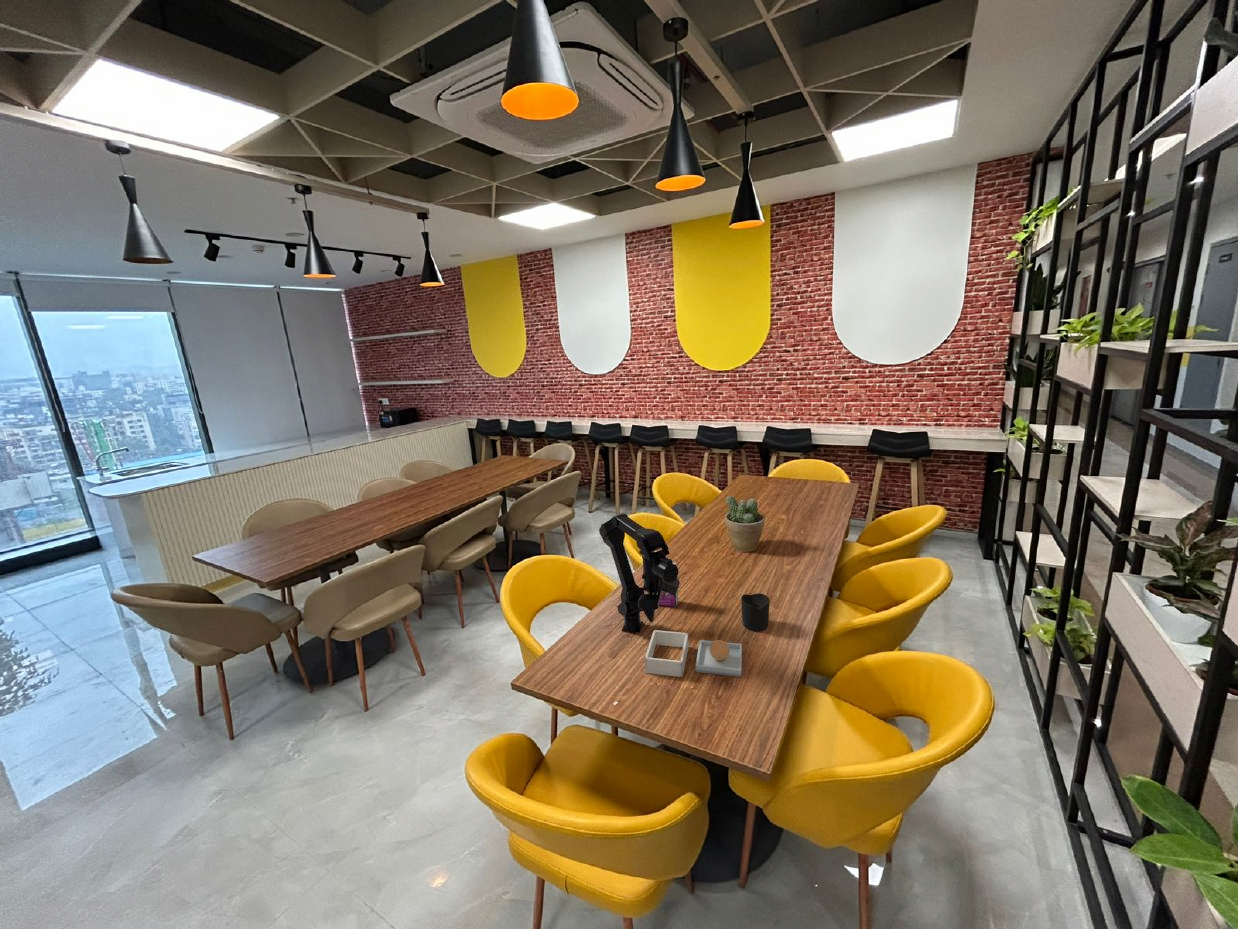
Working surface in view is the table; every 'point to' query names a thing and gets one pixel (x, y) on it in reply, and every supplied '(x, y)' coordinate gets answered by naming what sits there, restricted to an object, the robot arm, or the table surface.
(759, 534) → the potted plant
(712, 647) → the ball
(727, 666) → the tray
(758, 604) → the pen holder
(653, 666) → the grey rectangular frame
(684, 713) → the table surface
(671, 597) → the candy bar box
